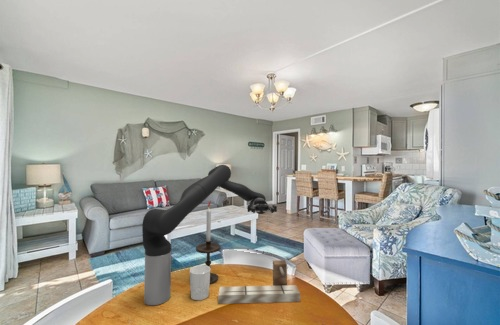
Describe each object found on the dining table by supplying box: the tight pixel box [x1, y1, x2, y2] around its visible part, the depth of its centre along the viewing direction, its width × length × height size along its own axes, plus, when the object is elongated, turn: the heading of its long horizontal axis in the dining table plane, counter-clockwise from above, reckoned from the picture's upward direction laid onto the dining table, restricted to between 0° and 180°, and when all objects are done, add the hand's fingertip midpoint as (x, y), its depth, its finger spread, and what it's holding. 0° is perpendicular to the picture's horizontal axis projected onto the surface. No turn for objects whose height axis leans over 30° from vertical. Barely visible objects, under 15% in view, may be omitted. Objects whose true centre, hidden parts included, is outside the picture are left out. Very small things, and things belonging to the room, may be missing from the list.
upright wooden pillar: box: [272, 259, 288, 286], centre depth 88 cm, size 5×9×11 cm, turn 3°
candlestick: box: [195, 200, 222, 285], centre depth 100 cm, size 11×11×35 cm
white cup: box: [189, 264, 212, 301], centre depth 86 cm, size 8×8×10 cm
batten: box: [217, 284, 301, 305], centre depth 85 cm, size 30×6×3 cm, turn 93°
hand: (263, 210), depth 103 cm, fingers open, 8 cm apart
